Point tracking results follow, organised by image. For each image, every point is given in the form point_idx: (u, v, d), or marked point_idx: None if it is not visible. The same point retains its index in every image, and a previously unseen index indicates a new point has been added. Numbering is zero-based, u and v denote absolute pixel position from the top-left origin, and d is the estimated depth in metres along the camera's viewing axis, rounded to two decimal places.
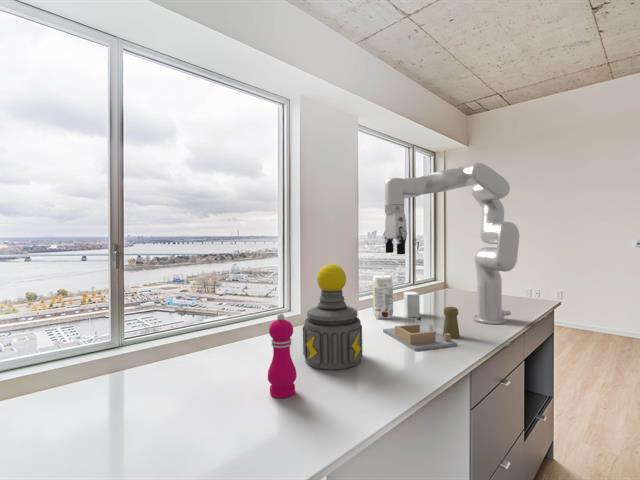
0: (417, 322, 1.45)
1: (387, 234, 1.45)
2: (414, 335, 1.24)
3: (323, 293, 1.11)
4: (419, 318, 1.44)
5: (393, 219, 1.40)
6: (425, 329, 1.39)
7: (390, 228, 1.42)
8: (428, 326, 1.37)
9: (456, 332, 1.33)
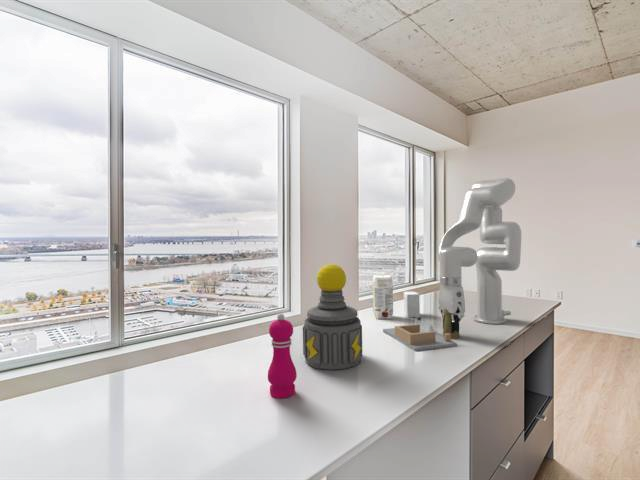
0: (417, 322, 1.45)
1: (442, 306, 1.37)
2: (414, 335, 1.24)
3: (323, 293, 1.11)
4: (419, 318, 1.44)
5: (450, 293, 1.32)
6: (425, 329, 1.39)
7: (446, 302, 1.34)
8: (428, 326, 1.37)
9: (456, 332, 1.33)
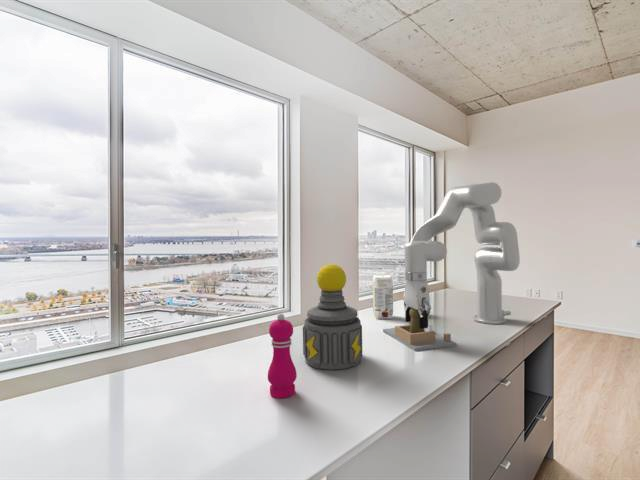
0: None
1: (407, 302, 1.32)
2: (414, 335, 1.24)
3: (323, 293, 1.11)
4: None
5: (414, 288, 1.27)
6: (425, 329, 1.39)
7: (411, 297, 1.29)
8: (428, 326, 1.37)
9: None
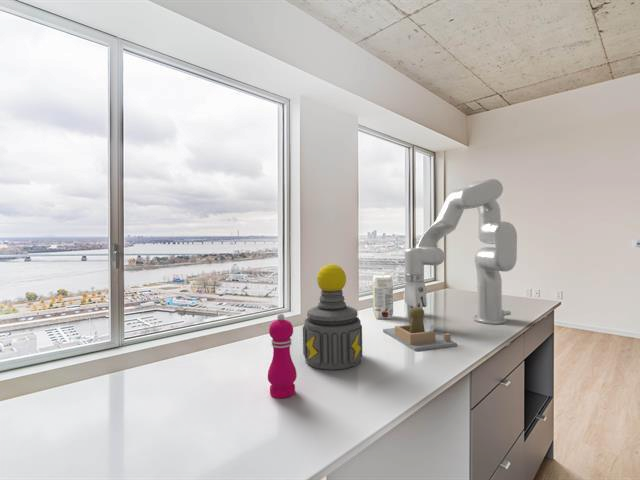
0: None
1: (407, 301, 1.49)
2: (414, 335, 1.24)
3: (323, 293, 1.11)
4: None
5: (413, 288, 1.44)
6: (425, 329, 1.39)
7: (410, 296, 1.46)
8: (428, 326, 1.37)
9: None
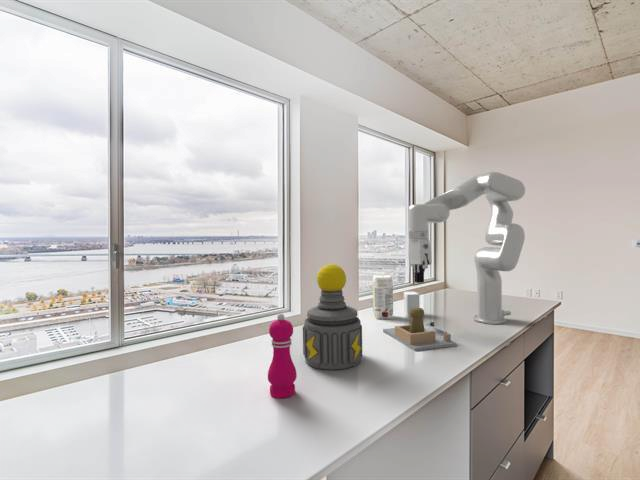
0: (430, 328, 1.36)
1: (411, 259, 1.45)
2: (414, 335, 1.24)
3: (323, 293, 1.11)
4: (432, 324, 1.35)
5: (417, 245, 1.40)
6: (439, 336, 1.31)
7: (414, 254, 1.42)
8: (442, 332, 1.28)
9: None
